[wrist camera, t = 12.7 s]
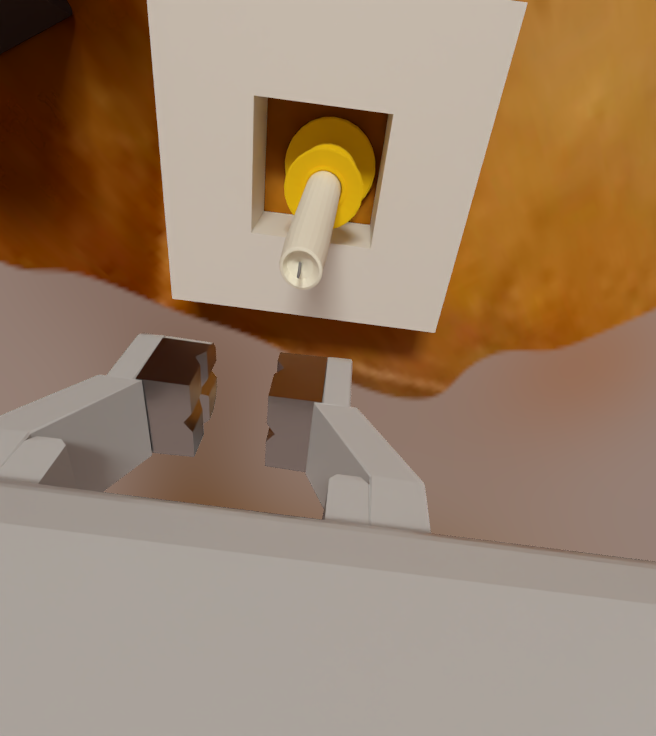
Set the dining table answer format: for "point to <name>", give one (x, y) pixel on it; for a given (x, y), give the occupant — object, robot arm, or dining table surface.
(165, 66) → the hole board
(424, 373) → the dining table surface
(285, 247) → the candle
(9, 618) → the robot arm
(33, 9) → the phone stand
